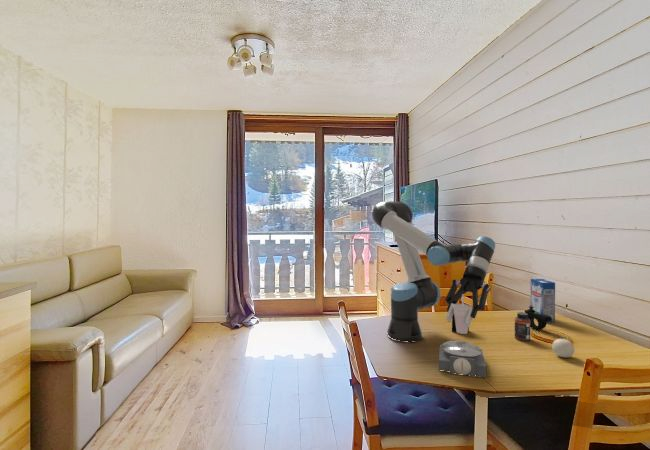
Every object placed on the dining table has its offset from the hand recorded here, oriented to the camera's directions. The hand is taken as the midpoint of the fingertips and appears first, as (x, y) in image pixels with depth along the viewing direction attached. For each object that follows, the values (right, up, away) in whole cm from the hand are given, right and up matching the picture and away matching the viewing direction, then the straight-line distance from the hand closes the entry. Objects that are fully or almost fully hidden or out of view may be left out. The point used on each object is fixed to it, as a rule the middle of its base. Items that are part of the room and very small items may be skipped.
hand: (457, 322), depth 118 cm
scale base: (+3, -16, +3) cm, 17 cm away
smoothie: (+3, -4, +3) cm, 6 cm away
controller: (+53, -15, +38) cm, 67 cm away
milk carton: (+65, -14, +53) cm, 85 cm away
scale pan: (+3, -11, +3) cm, 12 cm away
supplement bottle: (+39, -15, +27) cm, 50 cm away
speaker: (+17, -15, +38) cm, 45 cm away
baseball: (+44, -16, +9) cm, 48 cm away
